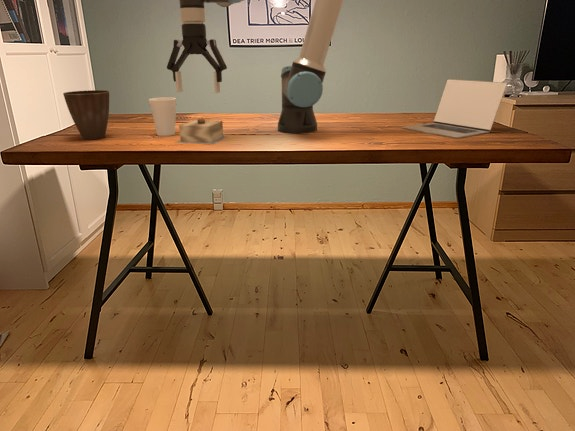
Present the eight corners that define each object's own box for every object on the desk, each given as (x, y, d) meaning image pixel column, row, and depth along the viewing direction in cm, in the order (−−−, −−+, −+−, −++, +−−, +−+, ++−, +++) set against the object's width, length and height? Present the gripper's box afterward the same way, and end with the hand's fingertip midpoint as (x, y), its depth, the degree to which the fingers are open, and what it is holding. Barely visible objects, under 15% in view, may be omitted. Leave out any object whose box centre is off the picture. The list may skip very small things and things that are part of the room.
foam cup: (172, 138, 163) (168, 100, 158) (148, 137, 164) (144, 100, 160) (183, 133, 171) (180, 97, 167) (160, 132, 173) (156, 97, 169)
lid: (223, 136, 162) (222, 117, 160) (211, 142, 152) (209, 122, 150) (194, 135, 165) (193, 116, 162) (180, 141, 155) (178, 121, 152)
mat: (228, 136, 163) (228, 136, 163) (213, 144, 151) (213, 144, 150) (192, 135, 167) (192, 134, 166) (174, 143, 154) (174, 142, 154)
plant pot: (66, 137, 166) (57, 92, 161) (107, 132, 175) (100, 89, 170) (78, 143, 155) (70, 95, 150) (122, 137, 164) (115, 91, 159)
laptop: (400, 129, 175) (404, 82, 169) (443, 123, 188) (447, 79, 182) (456, 140, 155) (462, 86, 149) (500, 132, 168) (507, 82, 161)
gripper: (234, 23, 146) (237, 91, 153) (163, 24, 152) (169, 90, 159) (225, 22, 139) (229, 94, 147) (151, 23, 145) (159, 92, 152)
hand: (198, 92), depth 153 cm, fingers open, 13 cm apart
